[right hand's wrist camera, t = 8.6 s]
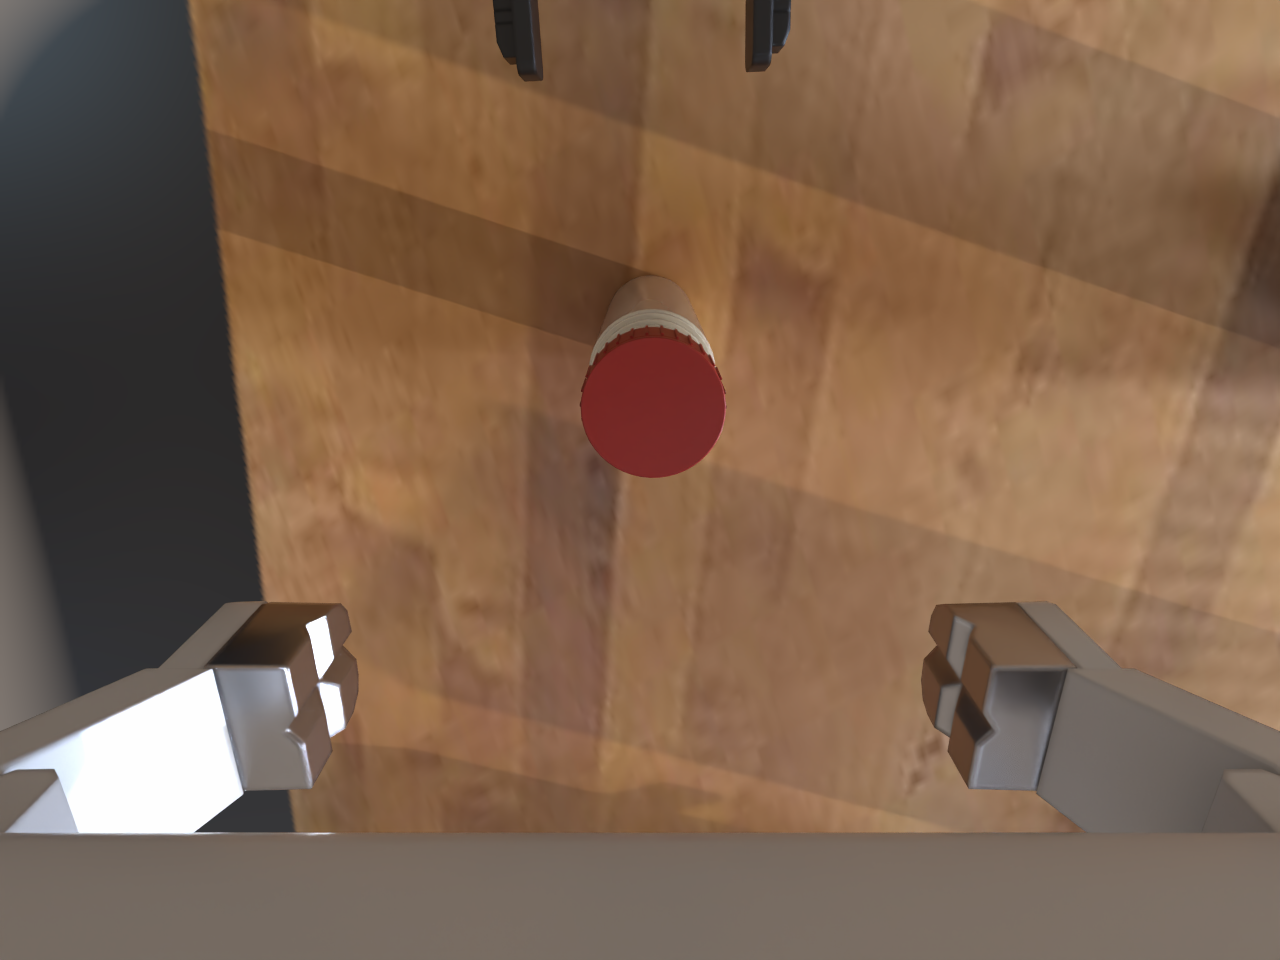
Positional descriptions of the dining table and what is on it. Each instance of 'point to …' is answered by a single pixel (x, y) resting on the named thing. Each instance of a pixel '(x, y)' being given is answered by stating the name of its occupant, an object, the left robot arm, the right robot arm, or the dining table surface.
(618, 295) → the bottle
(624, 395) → the cap
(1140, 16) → the dining table surface
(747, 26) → the left robot arm
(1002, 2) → the dining table surface
